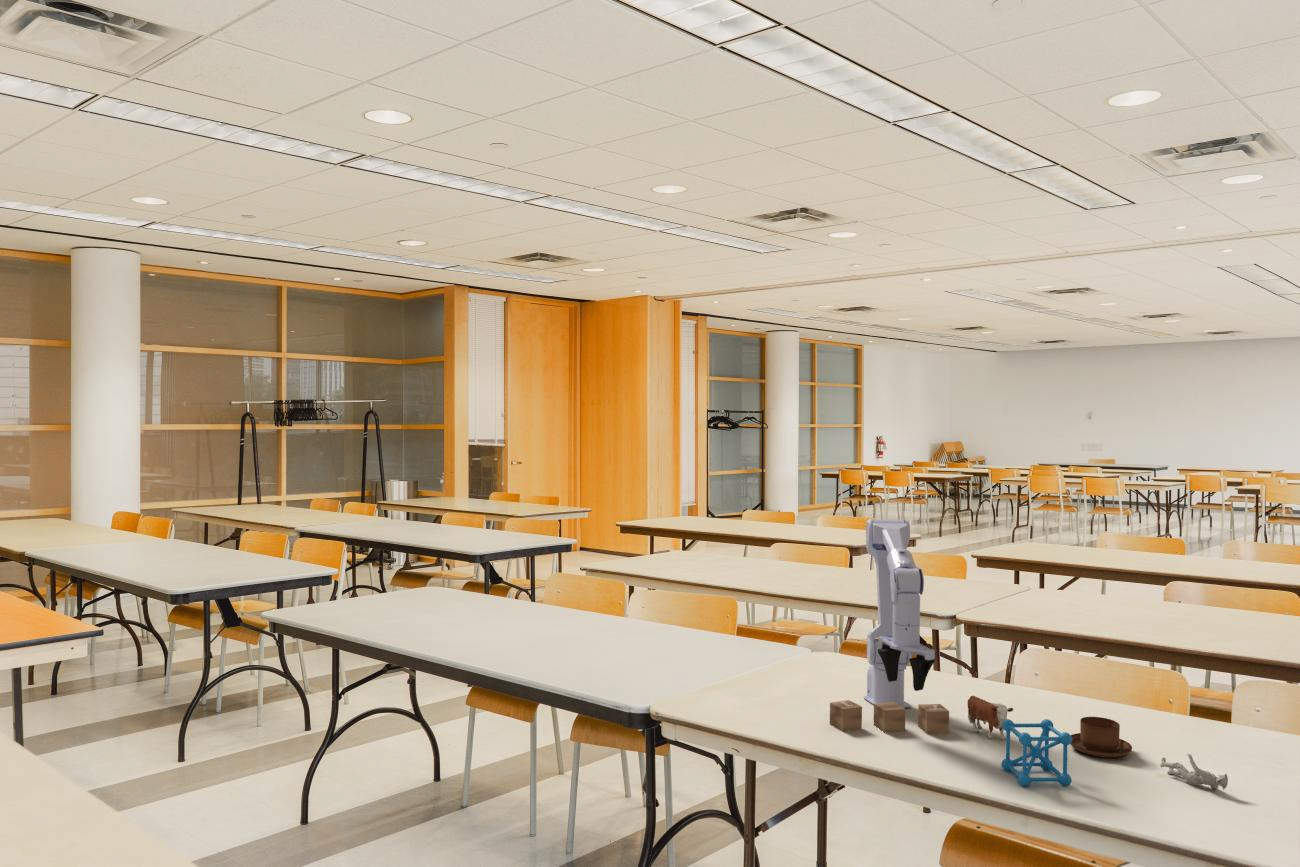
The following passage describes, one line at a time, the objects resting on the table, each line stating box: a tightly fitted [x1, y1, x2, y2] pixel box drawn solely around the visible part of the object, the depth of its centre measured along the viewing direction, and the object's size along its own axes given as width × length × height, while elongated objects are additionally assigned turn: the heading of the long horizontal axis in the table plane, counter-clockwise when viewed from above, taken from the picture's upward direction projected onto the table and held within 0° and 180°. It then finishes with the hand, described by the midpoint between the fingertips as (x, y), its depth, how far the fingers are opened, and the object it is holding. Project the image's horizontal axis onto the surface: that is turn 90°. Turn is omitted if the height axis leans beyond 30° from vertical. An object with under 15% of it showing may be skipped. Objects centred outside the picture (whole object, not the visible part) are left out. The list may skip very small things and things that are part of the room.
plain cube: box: [873, 702, 906, 734], centre depth 209 cm, size 5×5×5 cm
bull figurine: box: [967, 695, 1014, 741], centre depth 205 cm, size 4×13×8 cm, turn 15°
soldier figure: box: [1159, 753, 1229, 791], centre depth 179 cm, size 8×5×12 cm
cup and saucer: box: [1069, 716, 1133, 758], centre depth 196 cm, size 12×12×6 cm
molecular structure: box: [1000, 718, 1073, 787], centre depth 181 cm, size 10×10×10 cm
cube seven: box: [917, 703, 950, 735], centre depth 208 cm, size 5×5×5 cm
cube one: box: [829, 699, 863, 732], centre depth 210 cm, size 5×5×5 cm
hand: (905, 685), depth 207 cm, fingers open, 7 cm apart
